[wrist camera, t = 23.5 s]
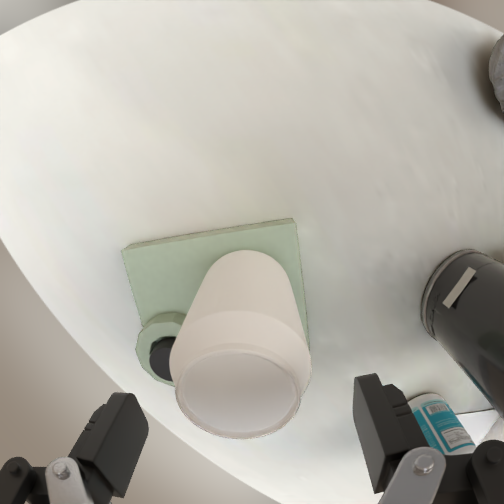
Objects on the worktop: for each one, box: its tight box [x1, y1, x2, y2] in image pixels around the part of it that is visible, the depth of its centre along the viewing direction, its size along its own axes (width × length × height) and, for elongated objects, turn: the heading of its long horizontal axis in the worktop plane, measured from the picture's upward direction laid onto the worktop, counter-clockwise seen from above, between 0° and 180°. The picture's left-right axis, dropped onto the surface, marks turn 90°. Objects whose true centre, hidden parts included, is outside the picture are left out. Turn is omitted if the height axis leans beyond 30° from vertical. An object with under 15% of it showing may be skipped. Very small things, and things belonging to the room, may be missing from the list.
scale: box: [121, 218, 310, 387], centre depth 23 cm, size 14×12×4 cm
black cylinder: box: [149, 338, 176, 382], centre depth 22 cm, size 3×3×2 cm
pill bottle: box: [408, 393, 476, 455], centre depth 22 cm, size 8×7×14 cm
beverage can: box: [169, 250, 312, 439], centre depth 17 cm, size 6×6×12 cm
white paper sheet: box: [456, 409, 500, 447], centre depth 30 cm, size 12×12×2 cm
